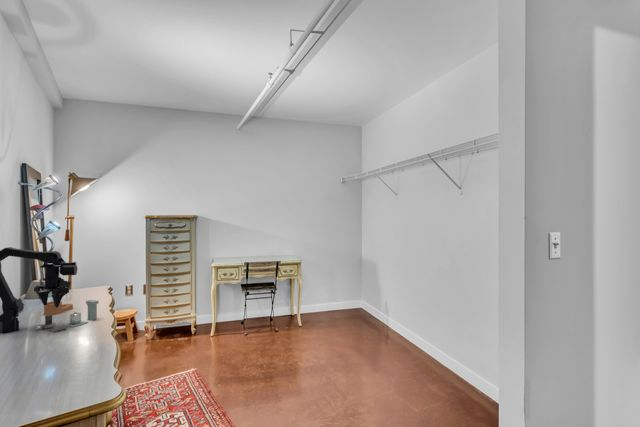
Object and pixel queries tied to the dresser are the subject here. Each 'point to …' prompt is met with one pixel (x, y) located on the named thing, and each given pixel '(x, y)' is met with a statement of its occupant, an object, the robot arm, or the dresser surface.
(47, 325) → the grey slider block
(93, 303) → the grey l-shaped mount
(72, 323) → the silver bell
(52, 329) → the rail
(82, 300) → the dresser surface
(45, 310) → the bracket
